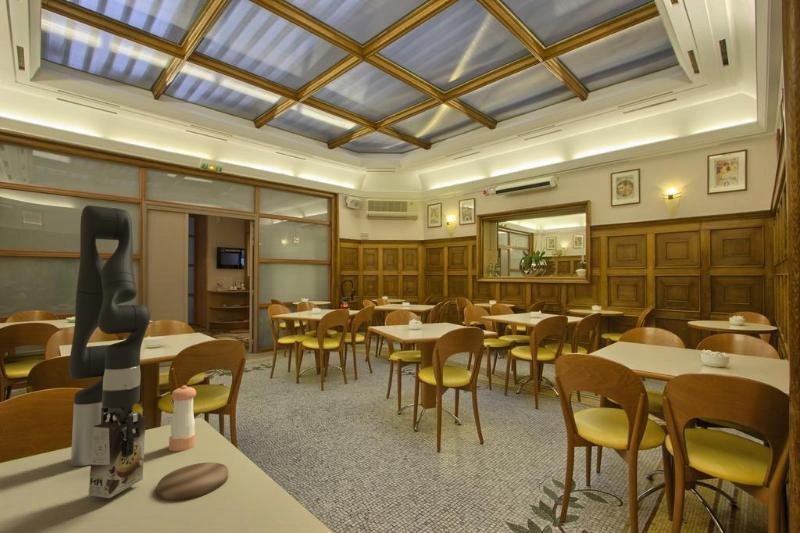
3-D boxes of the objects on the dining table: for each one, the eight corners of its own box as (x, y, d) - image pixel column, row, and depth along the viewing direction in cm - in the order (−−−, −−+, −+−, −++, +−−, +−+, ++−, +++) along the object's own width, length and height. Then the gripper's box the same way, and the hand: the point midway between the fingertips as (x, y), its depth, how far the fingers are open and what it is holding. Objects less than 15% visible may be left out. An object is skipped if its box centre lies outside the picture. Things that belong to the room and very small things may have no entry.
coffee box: (110, 499, 86) (113, 428, 87) (87, 495, 87) (91, 426, 88) (144, 479, 95) (147, 415, 96) (123, 476, 96) (126, 413, 97)
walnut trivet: (143, 489, 92) (143, 483, 92) (203, 463, 106) (203, 457, 106) (181, 507, 85) (182, 500, 85) (241, 476, 99) (241, 470, 99)
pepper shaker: (175, 442, 121) (177, 383, 122) (199, 441, 122) (200, 382, 123) (164, 452, 114) (166, 389, 115) (189, 450, 115) (190, 388, 116)
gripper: (89, 384, 92) (86, 451, 91) (119, 392, 86) (116, 465, 85) (123, 378, 99) (121, 440, 98) (153, 385, 92) (151, 452, 91)
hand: (118, 451), depth 91 cm, fingers closed on coffee box, 7 cm apart
